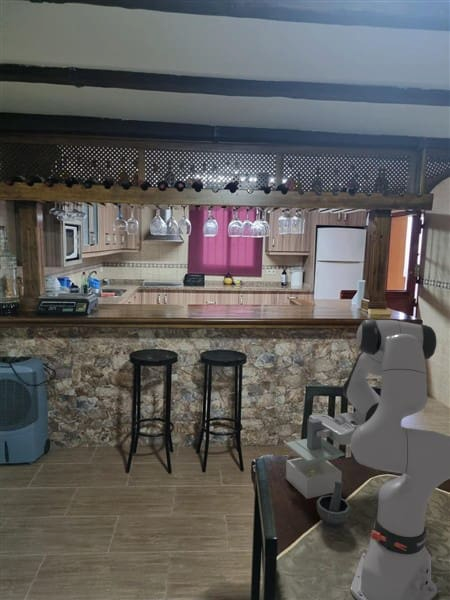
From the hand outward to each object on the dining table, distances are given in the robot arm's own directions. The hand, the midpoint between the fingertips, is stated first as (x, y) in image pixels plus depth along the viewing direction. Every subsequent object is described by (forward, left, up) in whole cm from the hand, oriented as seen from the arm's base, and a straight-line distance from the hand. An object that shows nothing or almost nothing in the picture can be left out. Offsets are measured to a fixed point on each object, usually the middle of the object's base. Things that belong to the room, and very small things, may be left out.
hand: (312, 431), depth 149 cm
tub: (+1, 0, -20) cm, 20 cm away
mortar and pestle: (-15, -16, -20) cm, 30 cm away
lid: (+1, 0, -9) cm, 9 cm away
